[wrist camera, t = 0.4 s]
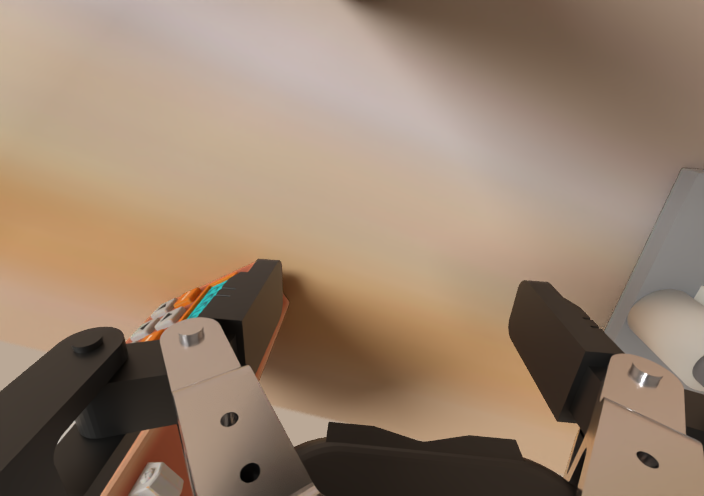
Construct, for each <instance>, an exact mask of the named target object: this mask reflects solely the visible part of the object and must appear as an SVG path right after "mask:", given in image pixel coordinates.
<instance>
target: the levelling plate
mask: <svg viewBox="0 0 704 496" xmlns="http://www.w3.org/2000/svg"><path fill="white" fill-rule="evenodd" d="M604 332H605V334H606V335H607V336H608V337H609V338H610V339H611V340H612V341H613V342H614V343H615V344H616V345H617V346H618V347H619V348H620V349H621V350H622V351H623V352H624V353H625V354H631V355H636V356H640V357H643V358H645V359H648V360H650V361H653V362H655V363H657V364H659V365H661V366H662V367H664V368H666V369H667V370H668V371H670V372H671V373H672V374H674V375H675V376H676V377H677V378H678V379H679V380H680V382H681V383H682V385H683V388H684V389H686V390H690V391H693V392H697V393H701V394H704V169H691V168H682V169H681V171H680V173H679V175H678V177H677V180H676V182H675V184H674V186H673V188H672V190H671V192H670V194H669V196H668V198H667V201H666V203H665V205H664V207H663V209H662V211H661V213H660V215H659V217H658V219H657V222H656V224H655V226H654V228H653V230H652V232H651V234H650V236H649V238H648V241H647V243H646V245H645V247H644V249H643V251H642V253H641V255H640V257H639V259H638V262H637V264H636V266H635V268H634V270H633V272H632V274H631V276H630V278H629V280H628V283H627V285H626V287H625V289H624V291H623V293H622V295H621V297H620V299H619V302H618V304H617V306H616V308H615V310H614V312H613V314H612V316H611V318H610V320H609V323H608V325H607V327H606V329H605V331H604Z"/></svg>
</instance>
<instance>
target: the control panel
mask: <svg viewBox="0 0 704 496" xmlns="http://www.w3.org/2000/svg"><path fill="white" fill-rule="evenodd" d="M255 262H256V261H255ZM255 262H253V263H251V264H249V265H247V266H245V267H243V268H240V269H238V270H236V271H234V272H232V273H230V274H227V275H225V276H223V277H221V278H219V279H217V280H215V281H212V282H210V283H208V284H206V285H204V286H202V287H200V288H195V289H193V290H191V291H189V292H187V293H184V294H183V295H182V296H180V297H178V298H174V299H172V300H169V301H167V302H165V303H163V304H161V305H160V306H159V307H158V308H157V309H156V310H155V311H154V313H153V314H152V315H151V316H150V317H149V318H148V319H147V320H146V321H145V322H144V323H143V324H142V325H141V326H140V327H139V328H138V329H137V330H136V331H135V332H134V333H133V335H132V336H131V337H130V338H129V339H128V340H127V341H126V344H128V343H136V342H144V341H152V340H159V339H160V337H161V335H162V333H163V332H164V331H165V330H166V329H167V328H168V327H170V326H171V325H173V324H175V323H177V322H179V321H182V320H185V319H190V318H197V317H198V315H199V314H200V313H201V312H202V310H203V309H204V308H205V307H206V306H207V304H208V303H209V302H210V301H211V300H212V298H213V297H214V296H216V294H217V292H218V291H219V290H220V289H222V286H223V285H224V284H225V283H226V281H227V280H228V279H229V278H231V277H232V276H234V275H236V274H238V273H239V272H248V271H249V270H250V269H251V267H252V266H253V265H254V263H255ZM288 306H289V301H288V299H287V298H286V297H285V295H284V294H283V307H282V313H281V317H280V320H279V322H278V324H277V327H276V329H275V331H274V333H273V336H272V338H271V340H270V343H269V345H268V347H267V349H266V352H265V354H264V356H263V359H262V361H261V363H260V365H259V368H258V370H257V372H256V374H255V376H256V378H257V380H258V381H259V380H260V377H261V375H262V372H263V370H264V367H265V365H266V362H267V360H268V357H269V354H270V352H271V349H272V347H273V344H274V342H275V339H276V337H277V334H278V331H279V329H280V326H281V324H282V321H283V319H284V316H285V314H286V311H287V309H288ZM75 423H76V422H75V421H74V422H73V423H72V424H71V425H70V427H69V428H68V429H67V430H66V431H65V432H64V434H63V435H62V436H61V438H60V439H59V441H58V443H59V442H60V441H61V439H62V438H63V437H64V436H65V435H66V434H67V432H68V431H69V430H70V429H71V428H72V427H73V425H74V424H75ZM58 443H57V444H58ZM100 496H193V495H192V490H191V485H190V481H189V477H188V472H187V468H186V464H185V459H184V455H183V451H182V446H181V442H180V437H179V433H178V429H177V424H175V425H170V426H165V427H159V428H154V429H148V430H143V431H141V432H140V434H139V435H138V437H137V439H136V440H135V442H134V443H133V445H132V446H131V448H130V449H129V451H128V453H127V454H126V456H125V457H124V459H123V460H122V462H121V464H120V465H119V467H118V468H117V470H116V471H115V473H114V475H113V476H112V478H111V479H110V481H109V482H108V484H107V486H106V487H105V489H104V490H103V492H102V493H101V495H100Z"/></svg>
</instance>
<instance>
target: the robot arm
mask: <svg viewBox="0 0 704 496" xmlns="http://www.w3.org/2000/svg"><path fill="white" fill-rule="evenodd" d="M282 307H283V285H282V264H281V261H280V260H267V259H257V261H256V262H255V263H254V265H253V266H252V267H251V269H250V270H249V271H248V272H239V273H238V274H236V275H234V276H232V277H231V278H229V279H228V280H227V281H226V283H225V284H224V285H223V286H222V289H220V290H219V291H218V292H217V294H216V296H214V297H213V298H212V300H211V301H210V302H209V303H208V304H207V306H206V307H205V308H204V309H203V310H202V312H201V313H200V314H199V315H198V317H197V318H190V319H185V320H182V321H179V322H177V323H175V324H173V325H171V326H170V327H168V328H167V329H166V330H165V331H164V332H163V333H162V335H161V337H160V339H159V340H152V341H144V342H136V343H128V344H126V342H125V338H124V334H123V333H122V331H120V330H119V329H117V328H113V327H97V328H91V329H87V330H84V331H81V332H78V333H76V334H73V335H71V336H69V337H67V338H66V339H64V340H62V341H61V342H60V343H58V344H57V345H56V346H55V347H53V348H52V349H51V350H50V351H49V352H47V353H46V354H45V355H44V356H43V357H41V358H40V359H39V360H38V361H37V362H35V363H34V364H33V365H32V366H30V367H29V368H28V369H27V370H26V371H24V372H23V373H22V374H21V375H20V376H18V377H17V378H16V379H15V380H14V381H12V382H11V383H10V384H9V385H8V386H6V387H5V388H4V389H3V390H2V391H1V392H0V496H100V495H101V493H102V492H103V490H104V489H105V487H106V486H107V484H108V482H109V481H110V479H111V478H112V476H113V475H114V473H115V471H116V470H117V468H118V467H119V465H120V464H121V462H122V460H123V459H124V457H125V456H126V454H127V453H128V451H129V449H130V448H131V446H132V445H133V443H134V442H135V440H136V439H137V437H138V435H139V434H140V432H141V431H143V430H148V429H154V428H159V427H165V426H170V425H175V424H177V429H178V433H179V437H180V442H181V446H182V451H183V455H184V459H185V464H186V468H187V472H188V477H189V481H190V485H191V490H192V495H193V496H704V394H701V393H697V392H693V391H690V390H686V389H684V388H683V385H682V383H681V382H680V380H679V379H678V378H677V377H676V376H675V375H674V374H672V373H671V372H670V371H668V370H667V369H666V368H664V367H662V366H661V365H659V364H657V363H655V362H653V361H650V360H648V359H645V358H643V357H640V356H636V355H631V354H625V353H624V352H623V351H622V350H621V349H620V348H619V347H618V346H617V345H616V344H615V343H614V342H613V341H612V340H611V339H610V338H609V337H608V336H607V335H606V334H605V332H604V331H603V330H602V329H599V326H598V325H597V324H596V323H595V322H594V321H593V320H590V317H589V316H588V315H587V314H586V313H585V312H584V311H583V310H582V309H581V308H580V307H578V306H577V305H575V304H573V303H572V302H570V301H569V300H567V299H565V298H563V297H562V296H561V295H560V293H559V292H558V291H557V290H556V289H555V288H554V287H553V286H552V285H551V284H550V283H548V282H539V281H527V280H524V281H522V282H521V283H520V285H519V287H518V291H517V294H516V298H515V301H514V305H513V308H512V312H511V315H510V319H509V326H508V328H509V335H510V338H511V340H512V342H513V344H514V346H515V347H516V349H517V351H518V353H519V355H520V356H521V358H522V360H523V362H524V363H525V365H526V367H527V369H528V371H529V372H530V374H531V376H532V378H533V379H534V381H535V383H536V385H537V387H538V388H539V390H540V392H541V394H542V395H543V397H544V399H545V401H546V403H547V404H548V406H549V408H550V410H551V411H552V413H553V415H554V417H555V419H556V420H557V422H568V423H577V424H578V425H579V427H580V428H579V430H578V433H577V435H576V437H575V440H574V444H573V447H572V450H571V454H570V457H569V460H568V464H567V467H566V470H565V473H564V477H561V476H560V475H558V474H557V473H555V472H554V471H552V470H550V469H548V468H546V467H544V466H542V465H541V464H538V463H536V462H534V461H531V460H529V459H526V458H523V457H522V454H521V452H520V449H519V447H518V445H517V442H516V440H512V439H502V438H491V437H481V436H470V435H468V436H461V437H455V438H448V439H441V440H435V441H428V442H422V441H417V440H414V439H411V438H408V437H405V436H402V435H399V434H396V433H393V432H390V431H387V430H384V429H381V428H378V427H375V426H366V425H356V424H345V423H335V422H329V424H328V430H327V437H324V438H318V439H315V440H311V441H307V442H305V443H302V444H300V445H298V446H295V447H293V445H292V443H291V441H290V439H289V438H288V436H287V434H286V432H285V430H284V428H283V426H282V424H281V422H280V421H279V419H278V417H277V415H276V413H275V411H274V409H273V408H272V406H271V404H270V402H269V400H268V398H267V396H266V394H265V393H264V391H263V389H262V387H261V385H260V383H259V381H258V380H257V378H256V376H255V374H256V372H257V370H258V368H259V365H260V363H261V361H262V359H263V356H264V354H265V352H266V349H267V347H268V345H269V343H270V340H271V338H272V336H273V333H274V331H275V329H276V327H277V324H278V322H279V320H280V317H281V313H282ZM74 421H75V422H76V423H75V424H74V425H73V427H72V428H71V429H70V430H69V431H68V432H67V434H66V435H65V436H64V437H63V438H62V439H61V441H60V442H59V443H58V441H59V439H60V438H61V436H62V435H63V434H64V432H65V431H66V430H67V429H68V428H69V427H70V425H71V424H72V423H73V422H74ZM57 443H58V444H57Z"/></svg>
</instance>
